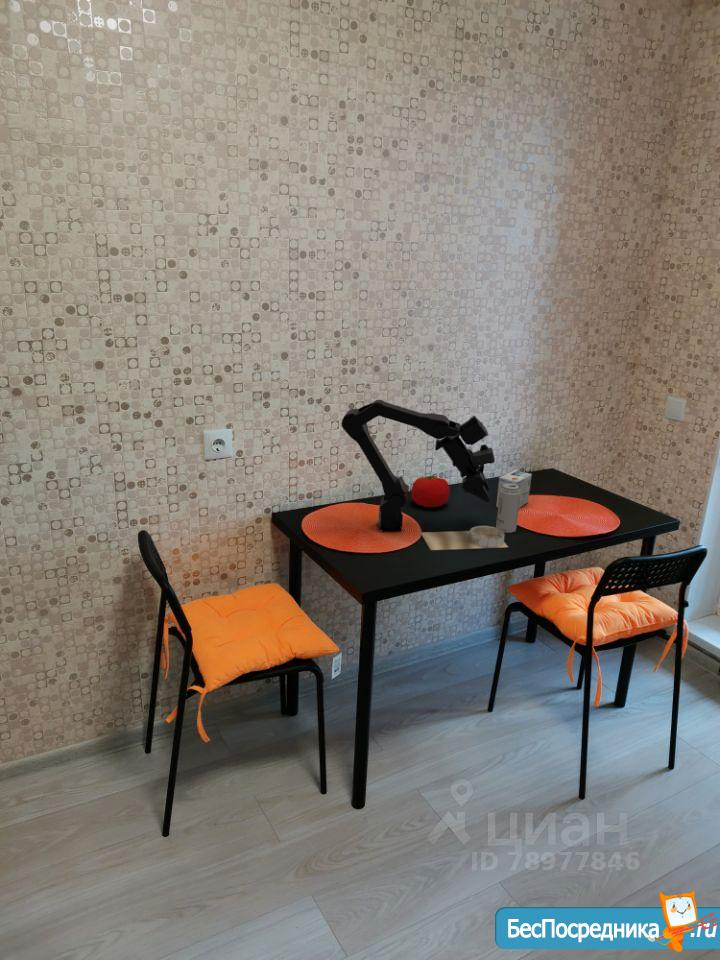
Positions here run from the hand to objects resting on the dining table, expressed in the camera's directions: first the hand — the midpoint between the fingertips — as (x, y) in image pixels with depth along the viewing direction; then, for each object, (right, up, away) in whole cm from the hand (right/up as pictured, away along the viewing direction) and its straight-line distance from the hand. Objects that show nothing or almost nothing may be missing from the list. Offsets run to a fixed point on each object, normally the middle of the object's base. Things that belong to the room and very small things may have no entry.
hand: (488, 495), depth 216 cm
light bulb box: (+13, -4, +30) cm, 33 cm away
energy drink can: (+7, -11, +9) cm, 16 cm away
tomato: (-15, -4, +27) cm, 31 cm away
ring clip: (-1, -13, -1) cm, 13 cm away
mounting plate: (-7, -14, -1) cm, 16 cm away
